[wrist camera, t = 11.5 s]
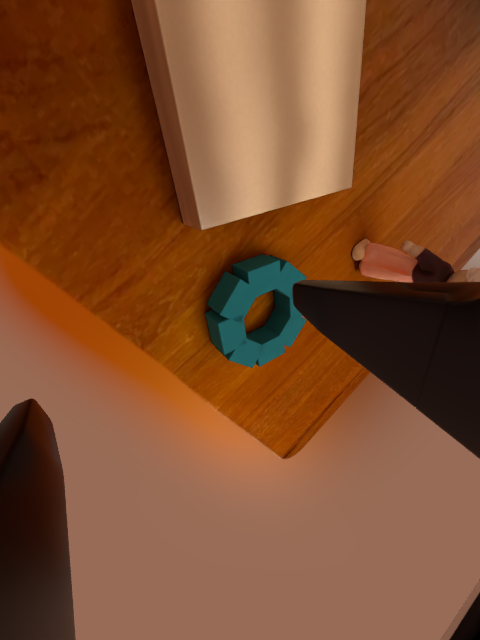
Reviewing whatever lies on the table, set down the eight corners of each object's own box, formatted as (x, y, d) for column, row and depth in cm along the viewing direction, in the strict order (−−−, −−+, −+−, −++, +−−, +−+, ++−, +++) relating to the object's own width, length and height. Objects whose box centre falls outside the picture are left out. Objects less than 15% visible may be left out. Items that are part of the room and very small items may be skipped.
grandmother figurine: (341, 257, 30) (476, 296, 21) (359, 226, 30) (506, 250, 20) (368, 285, 35) (487, 325, 26) (384, 258, 35) (511, 289, 26)
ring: (217, 369, 27) (230, 383, 25) (196, 277, 22) (210, 286, 20) (293, 329, 31) (309, 339, 29) (291, 243, 26) (309, 248, 24)
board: (183, 224, 20) (201, 230, 17) (63, -285, 10) (69, -419, 8) (324, 186, 25) (352, 187, 23) (334, -165, 16) (384, -223, 13)
